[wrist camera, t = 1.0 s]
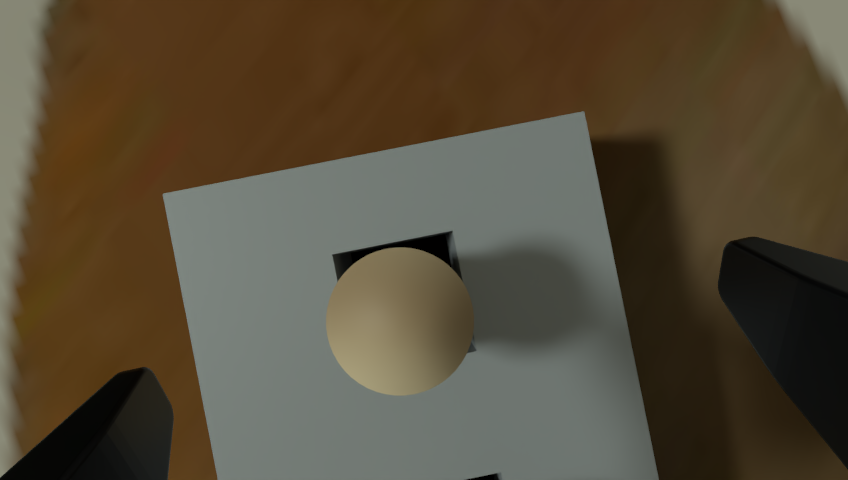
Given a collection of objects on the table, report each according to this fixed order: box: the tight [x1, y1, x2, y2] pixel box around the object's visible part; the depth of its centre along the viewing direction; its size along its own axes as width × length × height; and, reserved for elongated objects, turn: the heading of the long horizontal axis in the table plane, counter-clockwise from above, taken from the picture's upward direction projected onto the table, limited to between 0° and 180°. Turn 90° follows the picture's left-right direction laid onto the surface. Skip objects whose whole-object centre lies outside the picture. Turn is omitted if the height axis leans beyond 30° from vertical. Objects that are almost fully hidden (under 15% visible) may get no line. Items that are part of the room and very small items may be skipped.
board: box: [163, 111, 659, 480], centre depth 20 cm, size 18×14×5 cm
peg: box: [326, 247, 474, 396], centre depth 16 cm, size 4×4×6 cm
